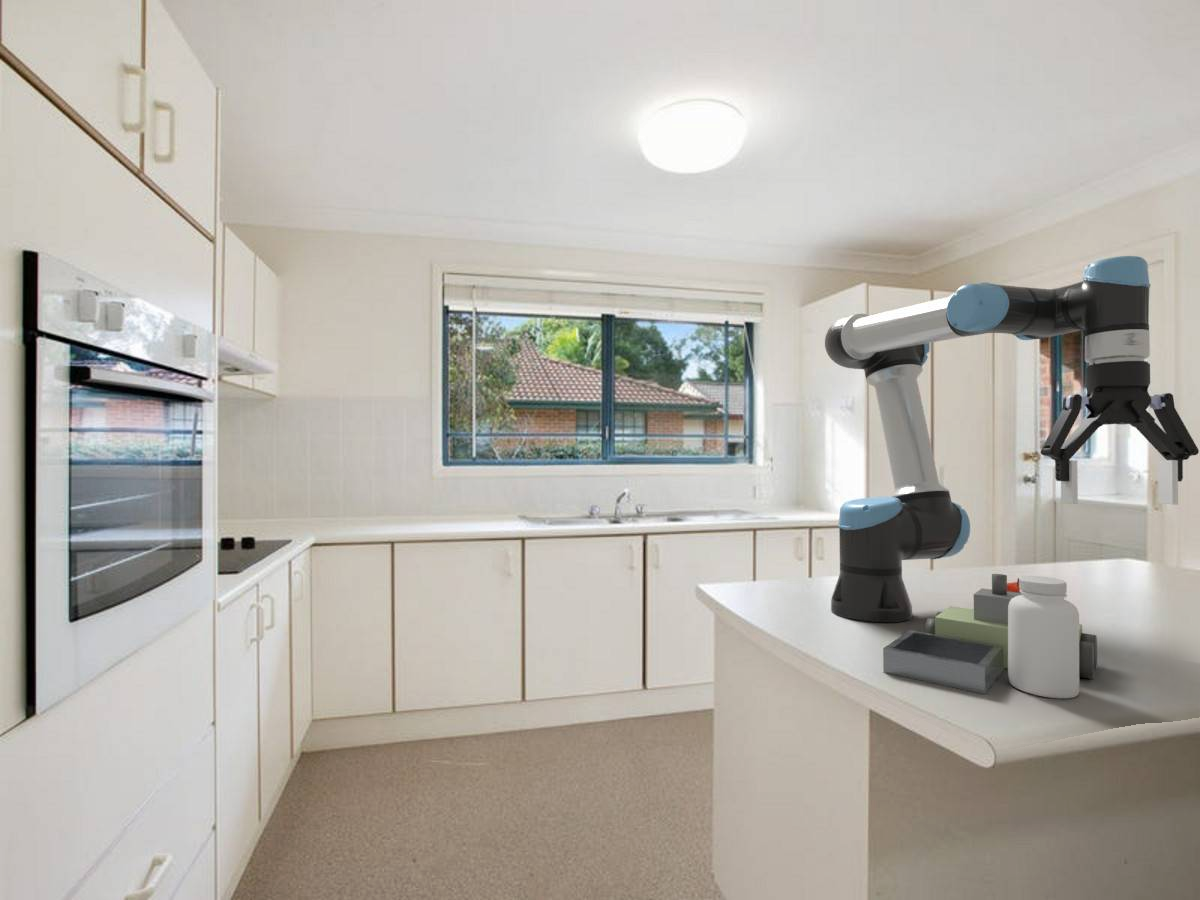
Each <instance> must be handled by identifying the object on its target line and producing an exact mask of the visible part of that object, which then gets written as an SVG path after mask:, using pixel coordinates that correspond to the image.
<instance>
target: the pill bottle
mask: <svg viewBox="0 0 1200 900" xmlns="http://www.w3.org/2000/svg"><path fill="white" fill-rule="evenodd" d="M1018 578H1019V588H1020V590H1019V591H1020V592H1021V593H1022V595H1019V596H1016V597H1014V598H1012V599H1011V600H1010V602H1009V605H1008V668H1007V676H1008V677H1007V678H1008V682H1009V683H1010V685H1011V686H1012V687H1014V688H1015V689H1018V690H1020V691H1022V692H1025V693H1027V694H1031V695H1033V696H1038V697H1039V696H1040V697H1043V698H1050V699H1072V698H1075V697H1077V696H1078V694H1079V691H1080V677H1079V624H1080V613H1079V610H1078V608H1077V606H1075V604H1074V603H1073V602H1070V601H1068V600H1066V599H1065V598H1067V596H1068V595H1067V590H1068V589H1067V585H1068V584H1067V582H1066V581H1065V580H1062V579H1059V578H1057V577H1056V578H1055V577H1048V576H1041V575H1040V576H1038V575H1025V576H1024V575H1023V576H1020V577H1018Z"/></svg>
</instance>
